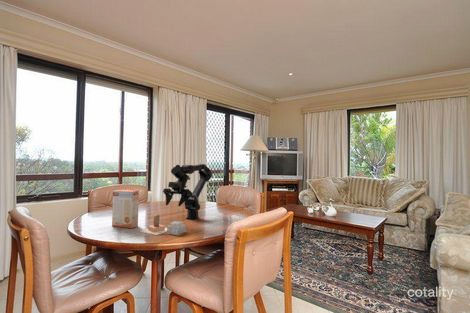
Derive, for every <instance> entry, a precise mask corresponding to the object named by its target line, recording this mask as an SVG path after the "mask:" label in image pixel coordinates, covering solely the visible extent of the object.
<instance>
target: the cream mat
mask: <svg viewBox="0 0 470 313" xmlns="http://www.w3.org/2000/svg"><path fill="white" fill-rule="evenodd" d="M139 233H141V234H142V233H143V234H149V235H152V236H153V235H154V236H158V235H159V236H160V235H161V234H164V233H167V227H165V230H163V231H158V232H151V231H149V230H148V228H145V229H143V230H140V231H139Z"/></svg>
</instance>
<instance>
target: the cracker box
mask: <svg viewBox="0 0 470 313" xmlns="http://www.w3.org/2000/svg"><path fill="white" fill-rule="evenodd" d="M139 193H140V191H139V190H134V189H133V190H130V189H116V190H115V189H114V190H112V211H111V212H112V216H111V217H112V218H111V220H112V221H111V224H112V225H111V226H112V227H116V226H117V227H119V228H125V229H133V228H136V227H138V226H139V196H140V195H139Z"/></svg>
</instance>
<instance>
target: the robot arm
mask: <svg viewBox="0 0 470 313" xmlns="http://www.w3.org/2000/svg"><path fill="white" fill-rule="evenodd" d="M196 171H198V174H199V180H198V182H197V183H196V186H195V187H194V189H193V191H191V189H188V188H187V187H188V186H187V183H188V180H191V177H190V175H192V174H194V173H195V172H196ZM170 173H171V174H172V175H173V177H174V178H175V179H177V181H168V188H166V187H165V188H163V190H162V193H163V194H164V195H165V205H166V206H168V205H169V204H170V202H171V201H172V199H173V196H174V195H180V199H179V201H178V205H177V206H178V207H181V206H182V205H183V204H184V208H185V209H184V210H186V211H187V213H186V214H187V215H186V216H187V217H185V219H186V220H190V221H191V220H194V221H195V220H197V219H199V218H200V217H199V211H200V209H201V205H200V203H199V201H200V200H199V197H200V195H201V194H202V191H203V189H204V187H205V185H206V183H207V182H209V181H210V180H211V179H212V177H213V172H212V170H211V169H210V168H209V167H208V166H207V165H206V164H205V163H199V164H194V165H193V164H182V165H180V164H176V165H175V166H173V167H172V168H171V170H170Z"/></svg>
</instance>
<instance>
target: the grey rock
mask: <svg viewBox="0 0 470 313" xmlns="http://www.w3.org/2000/svg"><path fill="white" fill-rule="evenodd" d="M166 228H167V232H166V234H168V235H173V236H180V235H182V234H185V233H186V228H187V225H186V224H184V222H183V221H178V220H175V221H172V222H169V225H167V226H166Z"/></svg>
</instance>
